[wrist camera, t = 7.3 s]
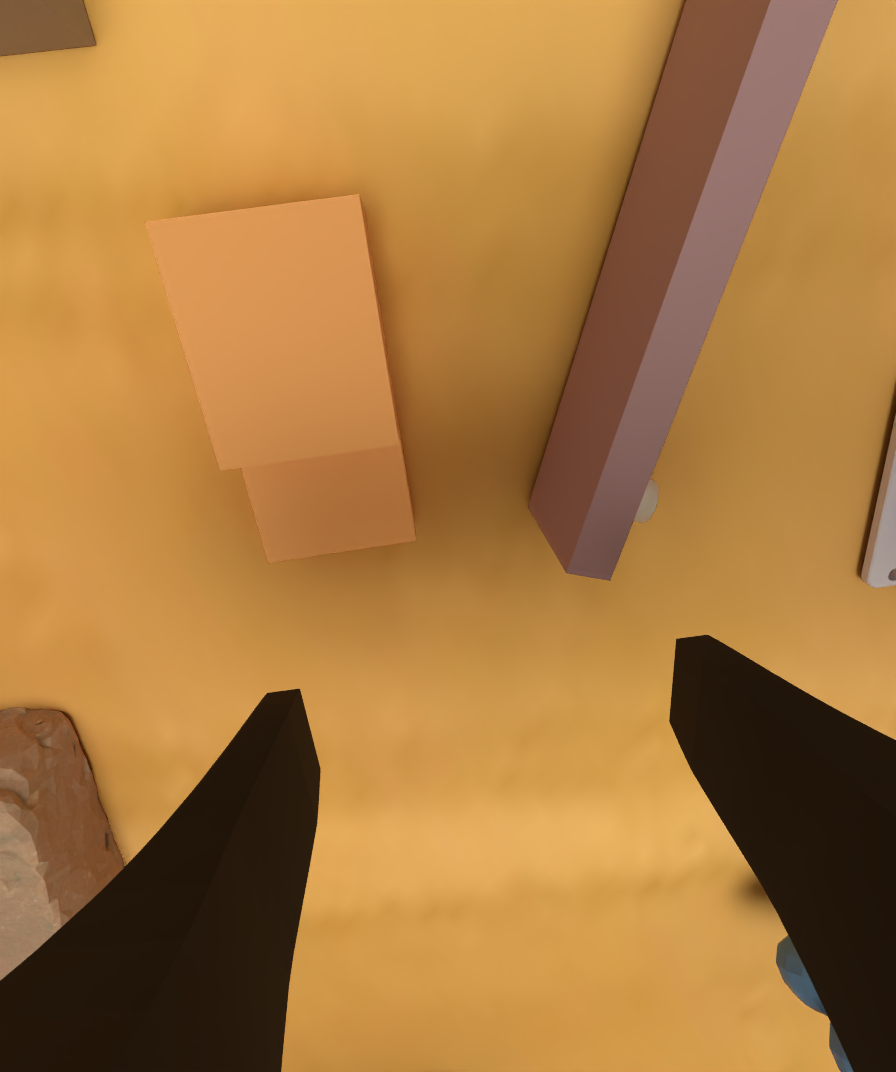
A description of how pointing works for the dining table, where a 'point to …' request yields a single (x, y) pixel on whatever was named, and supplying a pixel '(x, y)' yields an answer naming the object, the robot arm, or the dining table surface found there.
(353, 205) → the orange brown block
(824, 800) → the robot arm
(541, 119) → the dining table surface
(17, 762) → the brick
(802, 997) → the grapes
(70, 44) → the wall frame
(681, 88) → the door
